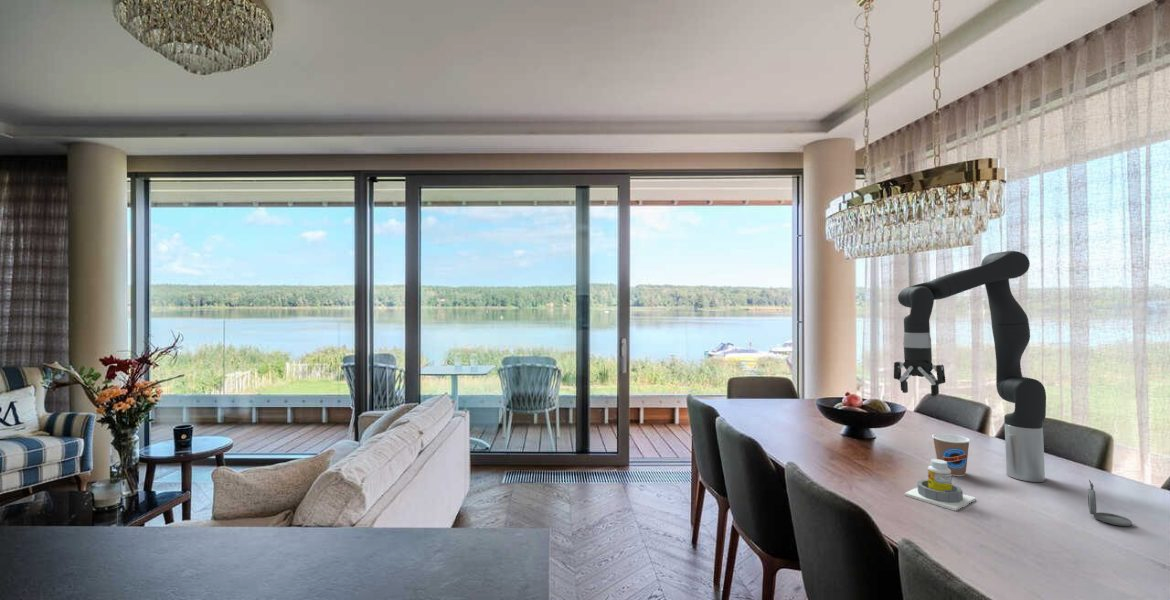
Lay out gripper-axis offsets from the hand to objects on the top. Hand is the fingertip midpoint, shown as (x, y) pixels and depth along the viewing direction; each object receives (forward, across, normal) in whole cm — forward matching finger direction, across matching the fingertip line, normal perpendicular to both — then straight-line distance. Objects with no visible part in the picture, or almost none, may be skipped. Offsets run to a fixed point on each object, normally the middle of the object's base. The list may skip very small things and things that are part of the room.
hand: (919, 394), depth 153 cm
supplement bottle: (+28, -10, +13) cm, 32 cm away
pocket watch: (+28, -40, -6) cm, 49 cm away
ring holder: (+28, -10, +13) cm, 33 cm away
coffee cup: (+28, -3, -14) cm, 32 cm away
